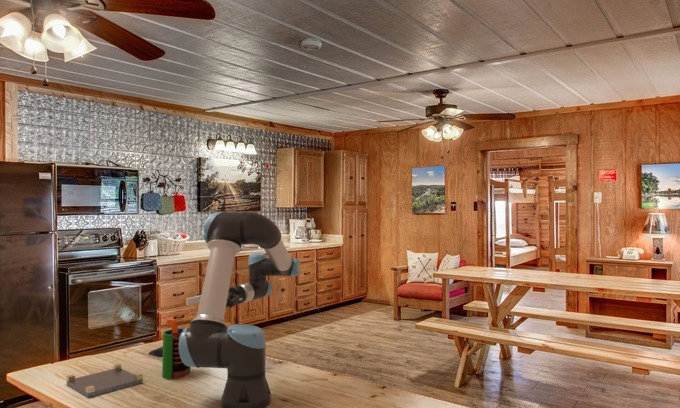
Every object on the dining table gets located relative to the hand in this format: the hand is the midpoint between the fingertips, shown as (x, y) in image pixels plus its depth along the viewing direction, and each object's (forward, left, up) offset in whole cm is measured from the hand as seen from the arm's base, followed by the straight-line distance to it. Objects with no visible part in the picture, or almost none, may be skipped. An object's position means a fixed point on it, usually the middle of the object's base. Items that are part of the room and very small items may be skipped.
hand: (197, 304), depth 184 cm
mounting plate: (+10, +30, -24) cm, 40 cm away
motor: (0, +9, -24) cm, 26 cm away
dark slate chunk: (+28, -8, -25) cm, 39 cm away
